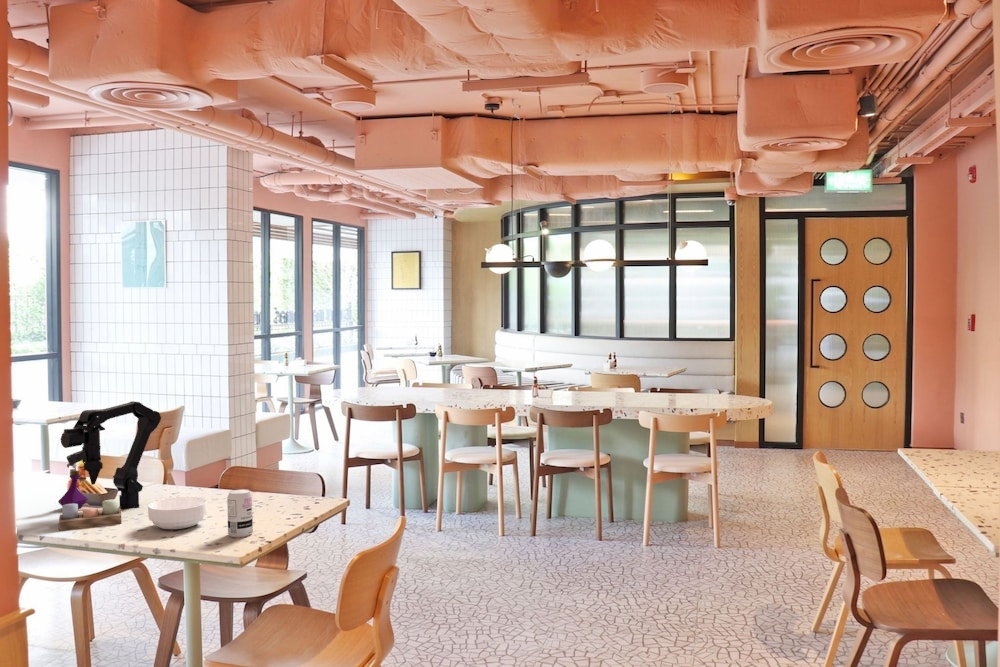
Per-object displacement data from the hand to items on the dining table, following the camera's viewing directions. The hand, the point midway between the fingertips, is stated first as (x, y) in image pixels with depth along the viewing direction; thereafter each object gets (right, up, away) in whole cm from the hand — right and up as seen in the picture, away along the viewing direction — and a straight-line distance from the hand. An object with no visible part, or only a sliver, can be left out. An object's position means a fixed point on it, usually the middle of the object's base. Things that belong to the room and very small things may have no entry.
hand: (93, 484), depth 305 cm
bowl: (+39, -12, -16) cm, 44 cm away
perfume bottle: (-14, -12, +11) cm, 21 cm away
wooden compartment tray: (+5, -12, -11) cm, 17 cm away
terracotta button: (+5, -12, -11) cm, 17 cm away
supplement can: (+65, -13, -27) cm, 71 cm away
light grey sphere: (-1, -10, -14) cm, 17 cm away
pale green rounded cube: (+10, -9, -8) cm, 16 cm away
